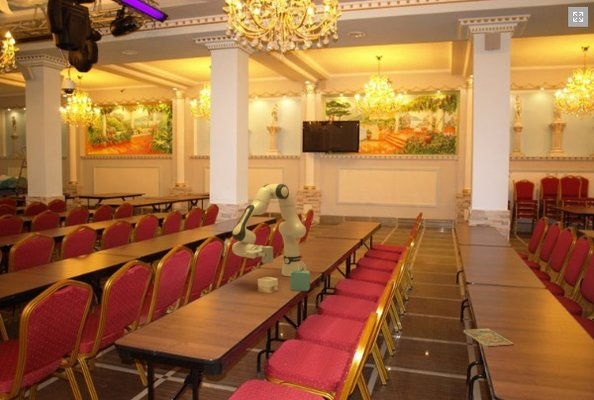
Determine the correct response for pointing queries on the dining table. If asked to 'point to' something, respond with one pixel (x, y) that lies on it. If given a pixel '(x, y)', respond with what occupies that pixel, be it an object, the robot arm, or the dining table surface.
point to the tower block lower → (267, 289)
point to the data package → (300, 280)
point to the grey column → (267, 254)
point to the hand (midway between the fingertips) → (268, 254)
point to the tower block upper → (268, 282)
